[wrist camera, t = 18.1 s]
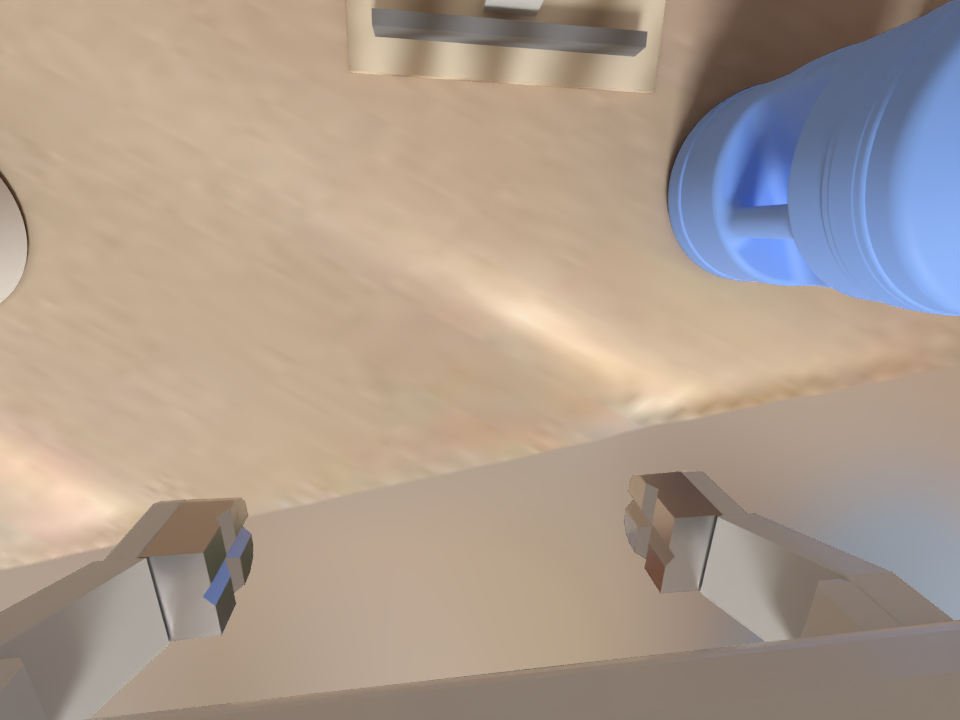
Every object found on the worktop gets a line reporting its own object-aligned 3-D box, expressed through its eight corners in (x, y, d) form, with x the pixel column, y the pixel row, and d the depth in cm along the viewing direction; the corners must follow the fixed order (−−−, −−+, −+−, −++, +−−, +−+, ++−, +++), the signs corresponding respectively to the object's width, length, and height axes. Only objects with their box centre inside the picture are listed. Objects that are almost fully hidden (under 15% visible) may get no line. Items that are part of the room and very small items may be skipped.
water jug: (807, 54, 38) (1738, -372, 11) (846, 230, 42) (1566, 235, 15) (637, 144, 38) (1125, -51, 11) (695, 308, 43) (1137, 442, 16)
